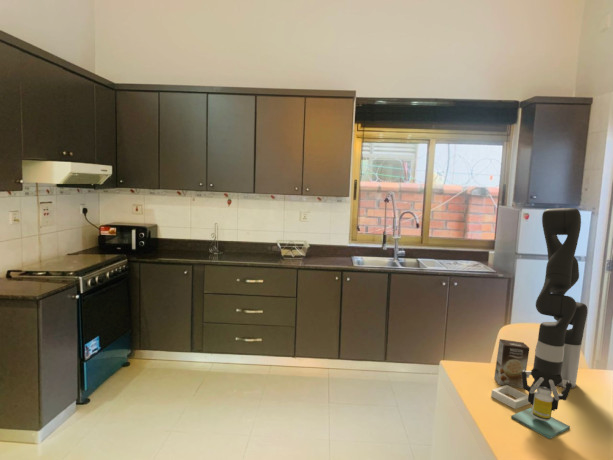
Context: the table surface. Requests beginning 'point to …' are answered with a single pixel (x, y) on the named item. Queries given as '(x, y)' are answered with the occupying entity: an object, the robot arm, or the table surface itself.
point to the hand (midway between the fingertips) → (542, 406)
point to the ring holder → (499, 395)
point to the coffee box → (511, 363)
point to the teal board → (540, 424)
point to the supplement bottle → (542, 404)
